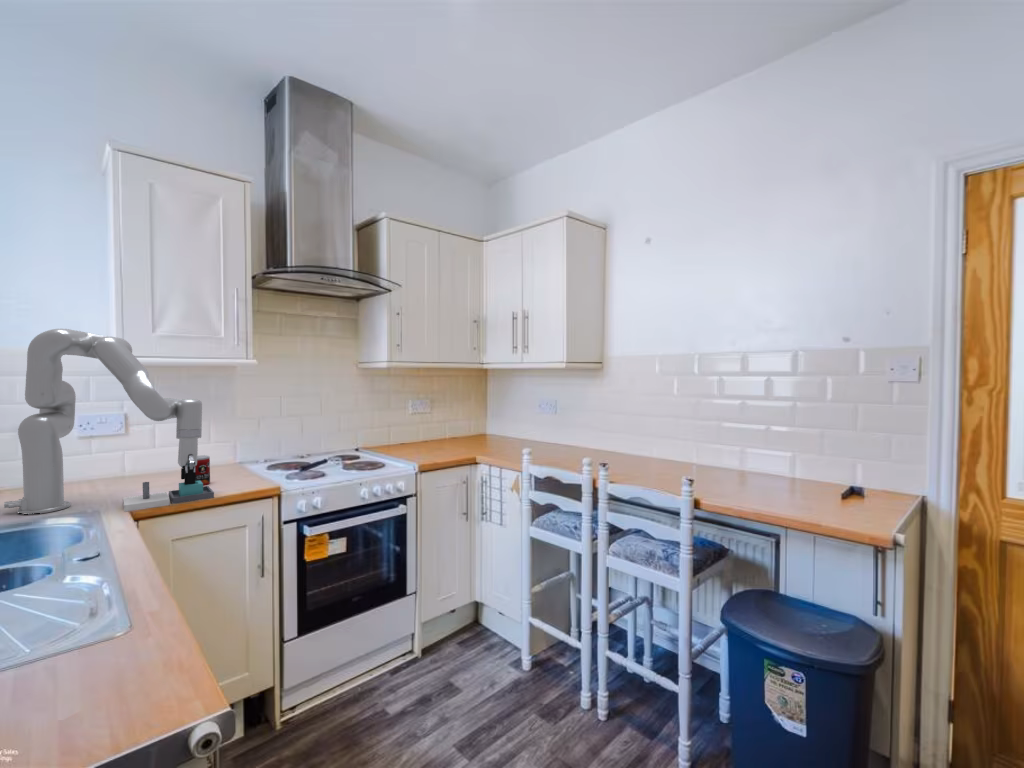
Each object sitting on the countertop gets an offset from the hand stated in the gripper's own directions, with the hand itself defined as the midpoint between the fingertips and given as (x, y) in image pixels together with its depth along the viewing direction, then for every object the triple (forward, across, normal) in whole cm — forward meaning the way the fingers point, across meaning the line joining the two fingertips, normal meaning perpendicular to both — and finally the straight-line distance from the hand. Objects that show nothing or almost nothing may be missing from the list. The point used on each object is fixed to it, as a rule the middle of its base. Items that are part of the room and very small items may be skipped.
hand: (188, 481), depth 174 cm
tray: (+6, 0, +1) cm, 6 cm away
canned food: (+6, -21, +6) cm, 22 cm away
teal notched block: (+5, 0, +1) cm, 5 cm away
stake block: (+6, +1, -12) cm, 13 cm away
